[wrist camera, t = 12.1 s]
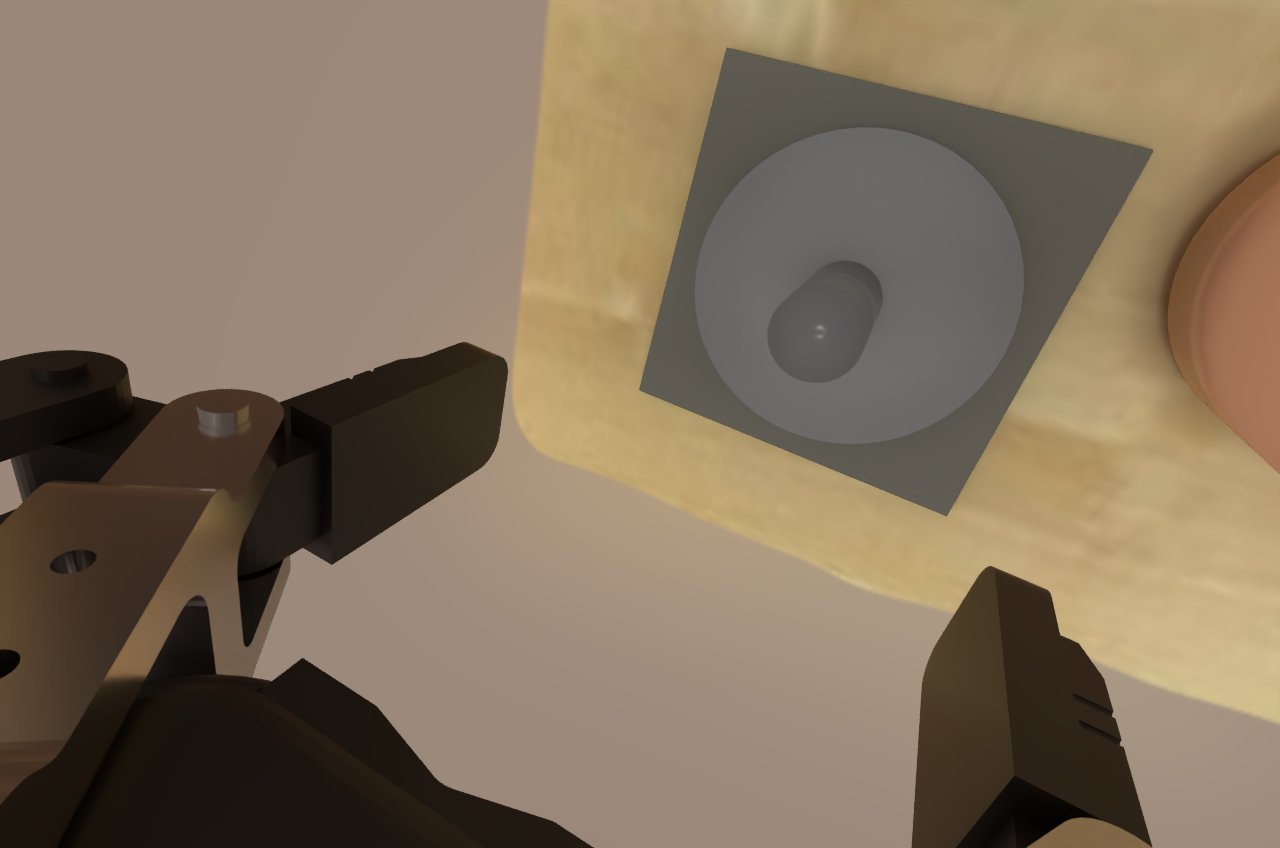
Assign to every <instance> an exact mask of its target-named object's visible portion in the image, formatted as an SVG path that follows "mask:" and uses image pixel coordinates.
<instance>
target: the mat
mask: <svg viewBox="0 0 1280 848" xmlns="http://www.w3.org/2000/svg"><path fill="white" fill-rule="evenodd" d="M858 127H870V128H887V129H893V130H898V131H904V132H909V133H912V134H915V135H918V136H921V137H924V138H927V139H930V140H932V141H934V142H936V143H938V144H940V145H942V146H944V147H946V148H948V149H950V150H952V151H953V152H954V153H956V154H957V155H959V156H960V157H961V158H963V159H964V160H966V161H967V162H968V163H970V164H971V165H972V166H973V167H974V168H975V169H976V170H977V171H978V172H979V173H980V174H981V175H982V176H983V177H984V178H985V179H986V180H987V181H988V182H989V183H990V185H991V186H992V187H993V189H994V190H995V191H996V193H997V194H998V195H999V197H1000V198H1001V200H1002V201H1003V203H1004V205H1005V207H1006V209H1007V211H1008V213H1009V215H1010V217H1011V219H1012V221H1013V224H1014V227H1015V230H1016V233H1017V236H1018V239H1019V242H1020V247H1021V253H1022V259H1023V265H1024V291H1023V298H1022V305H1021V312H1020V315H1019V319H1018V322H1017V326H1016V329H1015V332H1014V335H1013V337H1012V339H1011V341H1010V344H1009V346H1008V348H1007V350H1006V353H1005V354H1004V356H1003V358H1002V359H1001V361H1000V362H999V364H998V366H997V367H996V369H995V370H994V372H993V373H992V374H991V376H990V377H989V378H988V379H987V380H986V382H985V383H984V384H983V385H982V386H981V388H980V389H979V390H978V391H977V392H976V393H975V394H974V395H973V396H971V397H970V398H969V399H968V400H967V401H966V402H965V403H964V404H963V405H961V406H960V407H959V408H957V409H956V410H955V411H953V412H952V413H950V414H949V415H948V416H946V417H945V418H943V419H941V420H939V421H937V422H935V423H934V424H932V425H930V426H928V427H926V428H924V429H921V430H919V431H916V432H914V433H911V434H909V435H906V436H902V437H898V438H895V439H891V440H887V441H881V442H874V443H867V444H841V443H830V442H824V441H819V440H814V439H809V438H806V437H803V436H800V435H797V434H794V433H791V432H789V431H787V430H784V429H782V428H780V427H778V426H776V425H774V424H772V423H770V422H769V421H767V420H766V419H764V418H762V417H761V416H759V415H758V414H756V413H755V412H754V411H753V410H751V409H750V408H749V407H748V406H746V405H745V404H744V403H743V402H742V401H741V400H740V399H739V398H738V397H737V396H736V395H735V394H734V393H733V392H732V391H731V390H730V388H729V387H728V386H727V384H726V383H725V382H724V381H723V379H722V378H721V377H720V375H719V373H718V372H717V370H716V368H715V367H714V365H713V363H712V362H711V360H710V357H709V355H708V353H707V351H706V348H705V346H704V344H703V340H702V337H701V333H700V330H699V327H698V321H697V315H696V309H695V278H696V269H697V264H698V259H699V254H700V250H701V247H702V245H703V242H704V239H705V236H706V233H707V231H708V229H709V227H710V225H711V223H712V220H713V218H714V216H715V214H716V213H717V211H718V210H719V208H720V207H721V205H722V204H723V202H724V201H725V199H726V197H727V196H728V195H729V194H730V193H731V192H732V190H733V189H734V188H735V187H736V186H737V184H738V183H739V182H740V181H741V180H742V179H743V178H744V177H745V176H746V175H747V174H749V173H750V172H751V171H752V170H753V169H754V168H755V167H756V166H758V165H759V164H760V163H762V162H763V161H765V160H766V159H767V158H769V157H770V156H772V155H773V154H774V153H776V152H778V151H780V150H782V149H784V148H786V147H787V146H789V145H791V144H793V143H795V142H798V141H800V140H803V139H806V138H808V137H811V136H814V135H817V134H821V133H825V132H829V131H834V130H838V129H848V128H858ZM1153 151H1154V150H1152V149H1148V148H1144V147H1140V146H1135V145H1131V144H1127V143H1123V142H1119V141H1115V140H1110V139H1106V138H1102V137H1098V136H1094V135H1090V134H1085V133H1081V132H1077V131H1073V130H1069V129H1064V128H1060V127H1056V126H1052V125H1048V124H1044V123H1039V122H1035V121H1031V120H1027V119H1023V118H1018V117H1014V116H1010V115H1006V114H1002V113H998V112H993V111H989V110H985V109H981V108H977V107H973V106H968V105H964V104H960V103H956V102H952V101H947V100H943V99H939V98H935V97H931V96H927V95H922V94H918V93H914V92H910V91H906V90H902V89H897V88H893V87H889V86H885V85H881V84H876V83H872V82H868V81H864V80H860V79H856V78H851V77H847V76H843V75H839V74H835V73H830V72H826V71H822V70H818V69H814V68H810V67H805V66H801V65H797V64H793V63H789V62H785V61H780V60H776V59H772V58H768V57H764V56H759V55H755V54H751V53H747V52H743V51H739V50H734V49H730V48H726V52H725V56H724V60H723V64H722V68H721V72H720V76H719V80H718V84H717V87H716V91H715V95H714V99H713V103H712V107H711V111H710V115H709V119H708V123H707V127H706V130H705V134H704V138H703V142H702V146H701V150H700V154H699V158H698V162H697V166H696V170H695V173H694V177H693V181H692V185H691V189H690V193H689V197H688V201H687V205H686V209H685V213H684V217H683V220H682V224H681V228H680V232H679V236H678V240H677V244H676V248H675V252H674V256H673V260H672V263H671V267H670V271H669V275H668V279H667V283H666V287H665V291H664V295H663V299H662V303H661V306H660V310H659V314H658V318H657V322H656V326H655V330H654V334H653V338H652V342H651V346H650V349H649V353H648V357H647V361H646V365H645V369H644V373H643V377H642V381H641V385H640V389H639V390H640V391H642V392H645V393H647V394H650V395H652V396H655V397H657V398H660V399H662V400H664V401H667V402H669V403H672V404H674V405H677V406H679V407H681V408H684V409H686V410H689V411H691V412H694V413H696V414H699V415H701V416H703V417H706V418H708V419H711V420H713V421H716V422H718V423H720V424H723V425H725V426H728V427H730V428H733V429H735V430H738V431H740V432H742V433H745V434H747V435H750V436H752V437H755V438H757V439H760V440H762V441H764V442H767V443H769V444H772V445H774V446H777V447H779V448H781V449H784V450H786V451H789V452H791V453H794V454H796V455H799V456H801V457H803V458H806V459H808V460H811V461H813V462H816V463H818V464H820V465H823V466H825V467H828V468H830V469H833V470H835V471H838V472H840V473H842V474H845V475H847V476H850V477H852V478H855V479H857V480H860V481H862V482H864V483H867V484H869V485H872V486H874V487H877V488H879V489H881V490H884V491H886V492H889V493H891V494H894V495H896V496H899V497H901V498H903V499H906V500H908V501H911V502H913V503H916V504H918V505H920V506H923V507H925V508H928V509H930V510H933V511H935V512H938V513H940V514H942V515H945V516H947V515H948V513H949V512H950V510H951V508H952V506H953V505H954V503H955V501H956V499H957V497H958V496H959V494H960V492H961V490H962V489H963V487H964V485H965V483H966V482H967V480H968V478H969V476H970V475H971V473H972V471H973V469H974V467H975V466H976V464H977V462H978V460H979V459H980V457H981V455H982V453H983V452H984V450H985V448H986V446H987V444H988V443H989V441H990V439H991V437H992V436H993V434H994V432H995V430H996V429H997V427H998V425H999V423H1000V421H1001V420H1002V418H1003V416H1004V414H1005V413H1006V411H1007V409H1008V407H1009V406H1010V404H1011V402H1012V400H1013V399H1014V397H1015V395H1016V393H1017V391H1018V390H1019V388H1020V386H1021V384H1022V383H1023V381H1024V379H1025V377H1026V376H1027V374H1028V372H1029V370H1030V368H1031V367H1032V365H1033V363H1034V361H1035V360H1036V358H1037V356H1038V354H1039V353H1040V351H1041V349H1042V347H1043V345H1044V344H1045V342H1046V340H1047V338H1048V337H1049V335H1050V333H1051V331H1052V330H1053V328H1054V326H1055V324H1056V323H1057V321H1058V319H1059V317H1060V315H1061V314H1062V312H1063V310H1064V308H1065V307H1066V305H1067V303H1068V301H1069V300H1070V298H1071V296H1072V294H1073V292H1074V291H1075V289H1076V287H1077V285H1078V284H1079V282H1080V280H1081V278H1082V277H1083V275H1084V273H1085V271H1086V269H1087V268H1088V266H1089V264H1090V262H1091V261H1092V259H1093V257H1094V255H1095V254H1096V252H1097V250H1098V248H1099V247H1100V245H1101V243H1102V241H1103V239H1104V238H1105V236H1106V234H1107V232H1108V231H1109V229H1110V227H1111V225H1112V224H1113V222H1114V220H1115V218H1116V216H1117V215H1118V213H1119V211H1120V209H1121V208H1122V206H1123V204H1124V202H1125V201H1126V199H1127V197H1128V195H1129V194H1130V192H1131V190H1132V188H1133V186H1134V185H1135V183H1136V181H1137V179H1138V178H1139V176H1140V174H1141V172H1142V171H1143V169H1144V167H1145V165H1146V163H1147V162H1148V160H1149V158H1150V156H1151V155H1152V153H1153Z"/></svg>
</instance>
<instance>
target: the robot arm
mask: <svg viewBox="0 0 1280 848" xmlns="http://www.w3.org/2000/svg"><path fill="white" fill-rule="evenodd" d="M507 376H508V367H507V363H506V361H505V359H504V358H502V357H500V356H498V355H496V354H493V353H491V352H489V351H486V350H484V349H482V348H479V347H477V346H474V345H472V344H470V343H467V342H462V343H458V344H456V345H453V346H450V347H447V348H445V349H442V350H439V351H437V352H434V353H431V354H429V355H426V356H423V357H418V358H408V359H400V360H396V361H394V362H391V363H388V364H386V365H383V366H380V367H377V368H374V370H373V372H372V371H366V372H363V373H360V374H357V375H355V376H354V377H353V379H350V378H346V379H344V380H341V381H338V382H335V383H332V384H330V385H327V386H324V387H321V388H318V389H316V390H313V391H310V392H307V393H304V394H302V395H299V396H296V397H293V398H291V399H288V400H285V401H282V402H278V401H276V400H275V399H273V398H271V397H269V396H267V395H264V394H261V393H258V392H253V391H248V390H240V389H216V390H208V391H200V392H196V393H192V394H188V395H185V396H182V397H180V398H178V399H176V400H173V401H172V402H170V403H168V404H163V403H159V402H154V401H151V400H146V399H142V398H138V397H134V396H132V393H131V387H130V381H129V374H128V369H127V367H126V364H124V363H123V362H122V361H121V360H119V359H117V358H115V357H112V356H110V355H106V354H102V353H96V352H90V351H76V350H74V351H73V350H63V351H47V352H39V353H34V354H28V355H23V356H19V357H15V358H10V359H6V360H2V361H0V462H2V461H5V460H7V459H11V462H12V466H13V470H14V473H15V477H16V480H17V484H18V487H19V491H20V495H21V498H22V502H23V503H22V504H21V505H20V506H19V507H18V508H17V509H15V510H12V511H10V512H8V513H5V514H2V515H0V848H593V847H592V846H590V845H589V844H587V843H586V842H584V841H583V840H581V839H580V838H578V837H576V836H575V835H573V834H572V833H570V832H569V831H567V830H565V829H564V828H563V827H561V826H560V825H558V824H557V823H555V822H553V821H551V820H547V819H544V818H541V817H538V816H535V815H532V814H529V813H526V812H523V811H520V810H517V809H513V808H510V807H507V806H504V805H501V804H498V803H495V802H492V801H489V800H485V799H482V798H479V797H476V796H473V795H470V794H467V793H464V792H460V791H458V790H454V789H452V788H449V787H447V786H445V785H443V784H442V783H440V782H439V781H438V780H437V779H436V778H435V777H434V776H433V775H432V773H431V772H430V771H429V770H428V769H427V767H426V766H425V765H424V764H423V762H422V761H421V760H420V759H419V758H418V756H417V755H416V754H415V753H414V751H413V750H412V749H411V748H410V746H409V745H408V744H407V743H406V742H405V740H404V739H403V738H402V737H401V735H400V734H399V733H398V732H397V731H396V730H395V728H394V727H393V726H392V724H391V723H390V722H389V721H388V720H387V718H386V717H385V716H384V715H383V714H382V712H381V711H380V710H379V708H378V707H377V706H375V705H374V704H372V703H371V702H369V701H368V700H366V699H365V698H363V697H362V696H360V695H359V694H357V693H356V692H354V691H352V690H351V689H349V688H348V687H346V686H345V685H343V684H342V683H340V682H339V681H337V680H336V679H334V678H333V677H331V676H330V675H328V674H326V673H325V672H323V671H322V670H320V669H319V668H317V667H316V666H314V665H313V664H311V663H309V662H308V661H306V660H305V659H303V658H302V659H301V660H299V661H298V662H297V663H295V664H294V665H293V666H291V667H290V668H289V669H287V670H286V671H285V672H284V673H282V674H281V675H280V676H278V677H277V678H276V679H274V680H273V681H269V680H263V679H258V678H253V674H254V670H255V667H256V664H257V662H258V659H259V656H260V653H261V650H262V648H263V645H264V642H265V640H266V637H267V634H268V631H269V628H270V626H271V623H272V620H273V617H274V615H275V612H276V609H277V607H278V604H279V601H280V598H281V595H282V593H283V590H284V587H285V584H286V582H287V579H288V576H289V573H290V568H291V567H290V555H291V554H293V553H294V552H296V551H298V550H300V549H301V548H304V549H306V550H308V551H309V552H311V553H313V554H314V555H316V556H318V557H320V558H321V559H323V560H325V561H326V562H328V563H330V564H331V565H332V564H334V563H335V562H337V561H339V560H340V559H342V558H343V557H344V556H346V555H348V554H349V553H351V552H352V551H354V550H355V549H357V548H359V547H360V546H362V545H363V544H365V543H366V542H368V541H369V540H371V539H372V538H374V537H375V536H377V535H378V534H380V533H382V532H383V531H385V530H386V529H388V528H389V527H391V526H392V525H394V524H395V523H397V522H399V521H400V520H402V519H403V518H405V517H406V516H408V515H409V514H411V513H412V512H414V511H415V510H417V509H419V508H420V507H422V506H423V505H425V504H426V503H428V502H429V501H431V500H432V499H434V498H435V497H437V496H438V495H440V494H442V493H443V492H445V491H446V490H448V489H449V488H451V487H452V486H454V485H455V484H457V483H459V482H460V481H462V480H463V479H465V478H466V477H468V476H469V475H471V474H473V473H474V472H475V471H477V470H478V469H480V468H481V467H482V466H484V465H485V463H486V462H487V461H488V460H489V459H490V457H491V455H492V454H493V452H494V450H495V448H496V445H497V442H498V438H499V433H500V426H501V419H502V411H503V404H504V397H505V390H506V382H507ZM1112 713H1113V708H1112V705H1111V702H1110V698H1109V694H1108V691H1107V687H1106V684H1105V681H1104V678H1103V677H1102V675H1101V674H1100V672H1099V671H1098V670H1097V668H1096V667H1095V665H1094V664H1093V663H1092V661H1091V660H1090V658H1089V657H1088V656H1087V654H1086V653H1085V651H1084V650H1083V649H1082V647H1081V646H1080V645H1079V643H1077V642H1074V641H1072V640H1070V639H1068V638H1065V637H1063V636H1061V635H1060V633H1059V628H1058V624H1057V619H1056V615H1055V610H1054V606H1053V601H1052V597H1051V594H1050V592H1049V591H1048V590H1046V589H1044V588H1042V587H1039V586H1037V585H1035V584H1032V583H1030V582H1028V581H1025V580H1023V579H1021V578H1018V577H1016V576H1014V575H1011V574H1009V573H1006V572H1004V571H1002V570H999V569H997V568H995V567H992V566H989V567H987V568H985V569H984V570H983V571H982V572H981V574H980V575H979V576H978V578H977V579H976V581H975V582H974V584H973V586H972V587H971V589H970V590H969V592H968V594H967V595H966V597H965V598H964V600H963V602H962V603H961V605H960V606H959V608H958V610H957V611H956V613H955V614H954V616H953V618H952V619H951V621H950V623H949V624H948V626H947V627H946V629H945V631H944V632H943V634H942V635H941V637H940V639H939V640H938V642H937V644H936V645H935V647H934V649H933V651H932V653H931V656H930V658H929V661H928V663H927V666H926V669H925V673H924V677H923V682H922V692H921V709H920V724H919V740H918V756H917V772H916V787H915V802H914V818H913V835H912V848H1152V844H1151V841H1150V838H1149V834H1148V830H1147V827H1146V823H1145V820H1144V816H1143V813H1142V809H1141V806H1140V802H1139V799H1138V795H1137V792H1136V788H1135V785H1134V782H1133V778H1132V775H1131V771H1130V768H1129V765H1128V761H1127V757H1126V754H1125V750H1124V747H1122V746H1120V741H1121V736H1120V733H1119V730H1118V726H1117V722H1116V719H1115V718H1113V717H1112Z"/></svg>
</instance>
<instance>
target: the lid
mask: <svg viewBox="0 0 1280 848" xmlns="http://www.w3.org/2000/svg"><path fill="white" fill-rule="evenodd" d="M1023 291H1024V265H1023V259H1022V253H1021V247H1020V242H1019V239H1018V236H1017V233H1016V230H1015V227H1014V224H1013V221H1012V219H1011V217H1010V215H1009V213H1008V211H1007V209H1006V207H1005V205H1004V203H1003V201H1002V200H1001V198H1000V197H999V195H998V194H997V193H996V191H995V190H994V189H993V187H992V186H991V185H990V183H989V182H988V181H987V180H986V179H985V178H984V177H983V176H982V175H981V174H980V173H979V172H978V171H977V170H976V169H975V168H974V167H973V166H972V165H971V164H970V163H968V162H967V161H966V160H964V159H963V158H961V157H960V156H959V155H957V154H956V153H954V152H953V151H952V150H950V149H948V148H946V147H944V146H942V145H940V144H938V143H936V142H934V141H932V140H930V139H927V138H924V137H921V136H918V135H915V134H912V133H909V132H904V131H898V130H893V129H887V128H870V127H858V128H848V129H838V130H834V131H829V132H825V133H821V134H817V135H814V136H811V137H808V138H806V139H803V140H800V141H798V142H795V143H793V144H791V145H789V146H787V147H786V148H784V149H782V150H780V151H778V152H776V153H774V154H773V155H772V156H770V157H769V158H767V159H766V160H765V161H763V162H762V163H760V164H759V165H758V166H756V167H755V168H754V169H753V170H752V171H751V172H750V173H749V174H747V175H746V176H745V177H744V178H743V179H742V180H741V181H740V182H739V183H738V184H737V186H736V187H735V188H734V189H733V190H732V192H731V193H730V194H729V195H728V196H727V197H726V199H725V201H724V202H723V204H722V205H721V207H720V208H719V210H718V211H717V213H716V214H715V216H714V218H713V220H712V223H711V225H710V227H709V229H708V231H707V233H706V236H705V239H704V242H703V245H702V247H701V250H700V254H699V259H698V264H697V269H696V278H695V309H696V315H697V321H698V327H699V330H700V333H701V337H702V340H703V344H704V346H705V348H706V351H707V353H708V355H709V357H710V360H711V362H712V363H713V365H714V367H715V368H716V370H717V372H718V373H719V375H720V377H721V378H722V379H723V381H724V382H725V383H726V384H727V386H728V387H729V388H730V390H731V391H732V392H733V393H734V394H735V395H736V396H737V397H738V398H739V399H740V400H741V401H742V402H743V403H744V404H745V405H746V406H748V407H749V408H750V409H751V410H753V411H754V412H755V413H756V414H758V415H759V416H761V417H762V418H764V419H766V420H767V421H769V422H770V423H772V424H774V425H776V426H778V427H780V428H782V429H784V430H787V431H789V432H791V433H794V434H797V435H800V436H803V437H806V438H809V439H814V440H819V441H824V442H830V443H841V444H867V443H874V442H881V441H887V440H891V439H895V438H898V437H902V436H906V435H909V434H911V433H914V432H916V431H919V430H921V429H924V428H926V427H928V426H930V425H932V424H934V423H935V422H937V421H939V420H941V419H943V418H945V417H946V416H948V415H949V414H950V413H952V412H953V411H955V410H956V409H957V408H959V407H960V406H961V405H963V404H964V403H965V402H966V401H967V400H968V399H969V398H970V397H971V396H973V395H974V394H975V393H976V392H977V391H978V390H979V389H980V388H981V386H982V385H983V384H984V383H985V382H986V380H987V379H988V378H989V377H990V376H991V374H992V373H993V372H994V370H995V369H996V367H997V366H998V364H999V362H1000V361H1001V359H1002V358H1003V356H1004V354H1005V353H1006V350H1007V348H1008V346H1009V344H1010V341H1011V339H1012V337H1013V335H1014V332H1015V329H1016V326H1017V322H1018V319H1019V315H1020V312H1021V305H1022V298H1023Z"/></svg>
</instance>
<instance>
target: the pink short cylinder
mask: <svg viewBox="0 0 1280 848" xmlns="http://www.w3.org/2000/svg"><path fill="white" fill-rule="evenodd" d="M1167 324H1168V332H1169V341H1170V345H1171V348H1172V352H1173V355H1174V359H1175V361H1176V363H1177V365H1178V367H1179V369H1180V371H1181V373H1182V375H1183V377H1184V379H1185V380H1186V382H1187V383H1188V385H1189V386H1190V387H1191V389H1192V390H1193V391H1194V393H1195V394H1196V395H1197V396H1198V397H1199V398H1200V399H1201V400H1202V401H1203V402H1204V403H1205V404H1206V405H1207V406H1208V407H1209V408H1210V409H1211V410H1212V411H1213V412H1214V413H1215V414H1216V415H1217V416H1218V417H1219V418H1221V419H1222V420H1223V421H1224V422H1225V423H1226V424H1227V425H1228V426H1229V427H1230V428H1231V429H1232V430H1233V431H1234V432H1235V433H1236V434H1238V435H1239V436H1240V437H1241V438H1242V439H1243V440H1244V441H1245V442H1246V443H1247V444H1248V445H1249V446H1250V447H1251V448H1252V449H1253V450H1255V451H1256V452H1257V453H1258V454H1259V455H1260V456H1261V457H1262V458H1263V459H1264V460H1265V461H1266V462H1267V463H1268V464H1269V465H1270V466H1272V467H1273V468H1274V469H1275V470H1276V471H1277V472H1278V473H1280V154H1278V155H1277V156H1275V157H1274V158H1272V159H1271V160H1270V161H1268V162H1267V163H1266V164H1264V165H1263V166H1262V167H1260V168H1259V169H1257V170H1256V171H1255V172H1253V173H1252V174H1251V175H1249V176H1248V177H1247V178H1246V179H1245V180H1244V181H1243V182H1242V183H1240V184H1239V185H1238V186H1237V187H1236V188H1235V189H1234V190H1233V191H1232V192H1230V193H1229V194H1228V195H1227V196H1226V197H1225V198H1224V200H1223V201H1222V202H1221V203H1220V204H1219V205H1218V206H1217V207H1216V208H1215V210H1214V211H1213V212H1212V213H1211V214H1210V215H1209V216H1208V218H1207V219H1206V220H1205V222H1204V223H1203V225H1202V226H1201V227H1200V229H1199V230H1198V231H1197V233H1196V234H1195V236H1194V237H1193V239H1192V241H1191V242H1190V244H1189V246H1188V248H1187V250H1186V252H1185V253H1184V255H1183V257H1182V259H1181V261H1180V264H1179V267H1178V269H1177V272H1176V275H1175V277H1174V280H1173V284H1172V288H1171V293H1170V297H1169V302H1168V320H1167Z"/></svg>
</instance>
